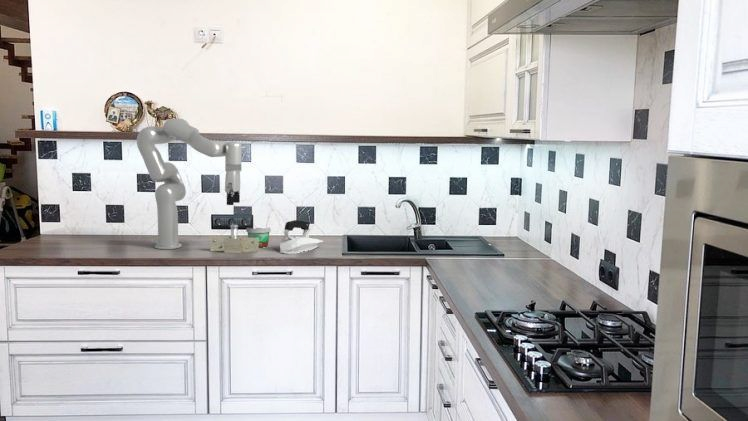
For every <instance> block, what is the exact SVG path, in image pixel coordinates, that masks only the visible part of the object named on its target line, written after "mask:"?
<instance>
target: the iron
mask: <svg viewBox="0 0 748 421" xmlns="http://www.w3.org/2000/svg"><path fill="white" fill-rule="evenodd" d="M294 228H295V229H296V228H297V229H301V230H302V236H297V235H290V231H294ZM312 229H313V228H312V227H310V222H307V221H304V220H297V219H294V220H291V221H290V220H289V221H287V222H286V223H285V225H284V232H283V233H284V237H282V238H281V241H280V243H279V253H280V254H286V255H287V254H293V253H294V254H300V252H301V253H304V252H303V251H305V252H309V251H312V250H314V249H317V248H318V247H319V244H321V243H323V242H324V240H323V239H318V238H314V237H312V238H311V237H310V232H311V230H312ZM308 250H309V251H308Z"/></svg>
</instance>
